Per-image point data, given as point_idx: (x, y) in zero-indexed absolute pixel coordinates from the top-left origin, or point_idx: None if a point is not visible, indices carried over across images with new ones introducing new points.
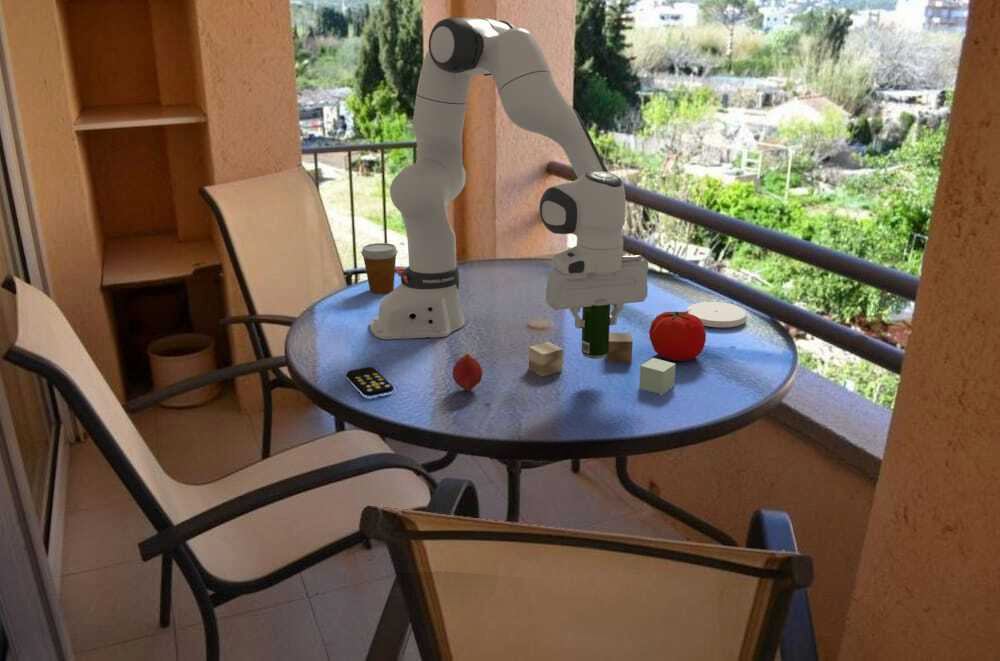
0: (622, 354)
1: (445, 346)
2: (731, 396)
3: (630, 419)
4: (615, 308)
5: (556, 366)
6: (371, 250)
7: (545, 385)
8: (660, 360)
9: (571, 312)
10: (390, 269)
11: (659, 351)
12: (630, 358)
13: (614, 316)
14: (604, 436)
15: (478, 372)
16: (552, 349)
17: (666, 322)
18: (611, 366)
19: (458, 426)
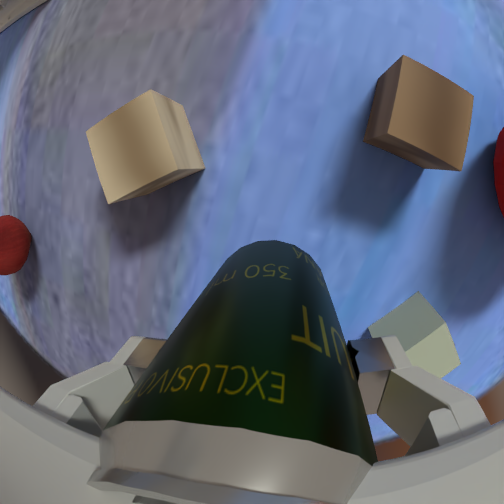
0: (413, 157)
1: (36, 33)
2: (477, 375)
3: None
4: (425, 417)
5: (178, 177)
6: None
7: (145, 250)
8: (448, 342)
9: (70, 380)
10: None
11: (498, 194)
12: (428, 167)
13: (379, 416)
14: None
15: (11, 269)
16: (143, 165)
17: None
18: (364, 171)
19: (41, 343)
